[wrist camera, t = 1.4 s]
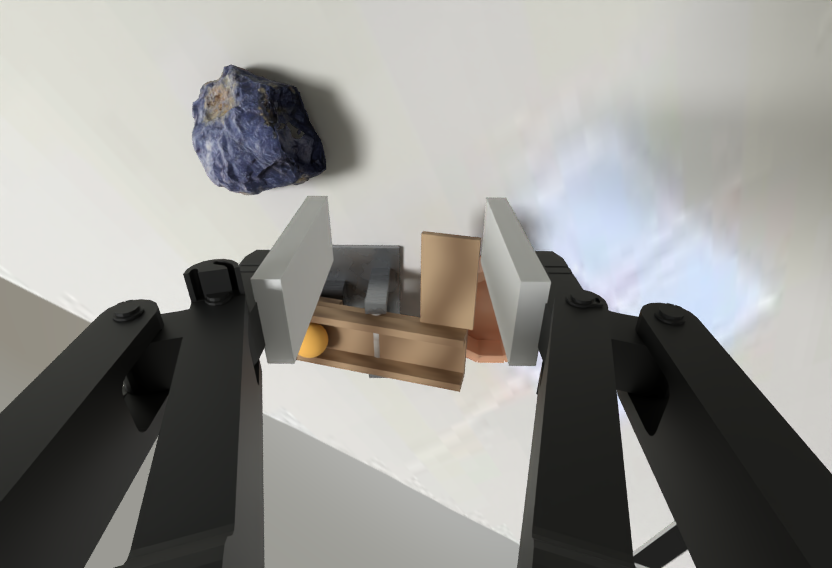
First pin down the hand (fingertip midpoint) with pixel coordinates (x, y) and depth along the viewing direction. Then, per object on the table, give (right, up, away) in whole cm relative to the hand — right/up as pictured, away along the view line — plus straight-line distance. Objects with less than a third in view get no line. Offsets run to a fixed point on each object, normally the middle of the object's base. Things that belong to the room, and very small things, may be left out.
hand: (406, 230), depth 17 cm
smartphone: (+43, -46, +57) cm, 85 cm away
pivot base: (-7, -4, +33) cm, 34 cm away
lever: (-3, -3, +27) cm, 27 cm away
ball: (-10, -8, +27) cm, 30 cm away
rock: (-14, +13, +24) cm, 31 cm away
